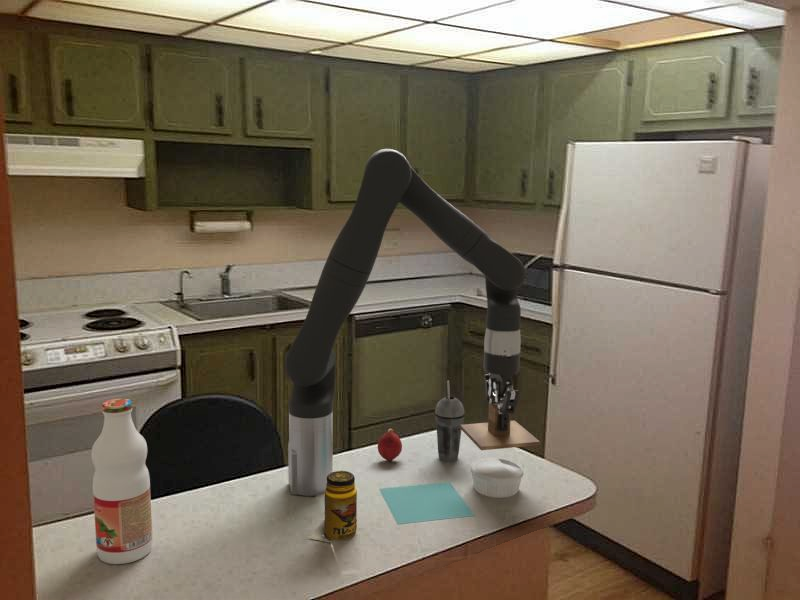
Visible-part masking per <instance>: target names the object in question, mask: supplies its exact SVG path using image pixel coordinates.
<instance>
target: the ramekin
mask: <svg viewBox="0 0 800 600" xmlns="http://www.w3.org/2000/svg"><path fill="white" fill-rule="evenodd" d="M470 472H471V475H472V484H473V488H474V490H475V491H476V492H477V493H479V494H480V495H483V496H486V497H490V498H495V499H498V498H499V499H501V498H503V499H504V498H509V497H513V496H515V495H516V494H517V493H518V492H519V489H520V486H521V481H522V478H523V477H524V468H522V466H521V465H520V464H518V463H517V462H514V461H512V460H509V459H504V458H499V457H498V458H497V457H496V458H495V457H487V458H481V459H478V460H475V461H474V462H472V463H471V466H470Z"/></svg>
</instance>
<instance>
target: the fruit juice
mask: <svg viewBox="0 0 800 600" xmlns="http://www.w3.org/2000/svg"><path fill="white" fill-rule="evenodd" d="M133 407H134V406H133V401H132V400H131V399H128V398H114V399H113V398H112V399H108V400H105V401H104V402H103V403H102V404H101V410H102V414H103V416H104V420H103V425H102V426H103V427H102V430H101V432H100V434H99V436H98V438H97V439H96V440H95V442H94V443H93V445H92V447H91V459H92V460H91V461H92V463H93V466H94V469H95V470H94V471H95V472H94V475H93V478H92V496H93V512H94V527H95V541H96V542H95V543H96V553H97V556H98V558H99V560H100V561H102V562H103V563H106V564H110V565H124V564H129V563H133V562H136V561H138V560H141V559H143V558H144V557H146V556H147V555H148V554H149V553H150V552H151V550H152V548H153V545H154V544H153V541H154V539H153V522H152V519H153V518H152V503H151V502H152V499H151V498H152V497H151V482H150V481H151V478H150V472H149V469H148V467H147V465H146V460H147V456H148V445H147V441H146V439H145V438H144V436H143V435H141V433H140V432H139V431H138V430H137V429H136V427H135V424H134V421H133V418H132V414H131V413H132V411H133Z"/></svg>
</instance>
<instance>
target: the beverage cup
mask: <svg viewBox="0 0 800 600" xmlns="http://www.w3.org/2000/svg"><path fill="white" fill-rule="evenodd" d="M446 383H447V385H446V387H447V396H445V397H443V398H441V399H440V400H439V401H438V402H437V403H436V406H435V410H434V419H435V423H436V439H437V440H436V441H437V442H436V443H437V454H438V458H439V460H440V461H443V462H455V461H457V460H458V458H459V453H460V446H461V444H460V443H461V438H462V437H461V435H462V430H461V429H460V425H464V421H465V416H466V412H465V409H464V404H463V403H462V402H461V401H460V400H459V399H458V398H456V397H454V396H450V395H451V391H450V380H447V382H446Z"/></svg>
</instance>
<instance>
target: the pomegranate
mask: <svg viewBox="0 0 800 600" xmlns="http://www.w3.org/2000/svg"><path fill="white" fill-rule="evenodd" d="M402 443H403V442H402V440H401V438H400V437H399V435H397V434H396V433H395V432H394V430H393V429H392V428H389V429H388V430H387V431H386V433H383V435H381V436H380V438H379V440H378V442H377V450H378V454H379V455H380V457H382V458H383V459H384V460H385V461H387V462H392V461H393V460H395V459H396V458H397V457H398V456H400V454H401V452H402V450H403V444H402Z"/></svg>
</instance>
